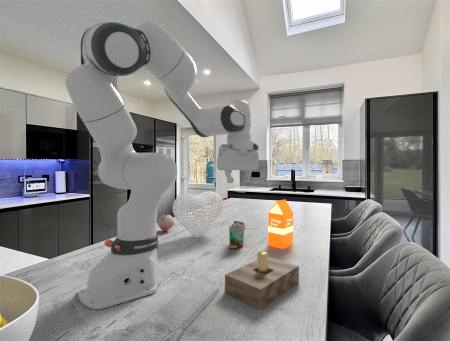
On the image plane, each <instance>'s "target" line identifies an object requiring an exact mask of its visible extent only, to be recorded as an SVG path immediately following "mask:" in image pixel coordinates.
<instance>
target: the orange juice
mask: <svg viewBox="0 0 450 341" xmlns="http://www.w3.org/2000/svg"><path fill="white" fill-rule="evenodd" d="M267 224H268V228H267V231H268V234H267V235H268V238H267V239H268V242H267V244H268V246H270V247H273V248H279V249H281V250H284V249H285V250H286V248H289V247H291V246H293V245H294V212H293V210H292V208H291V207H290V205H289V203H288V202H287V199H281V200H276V201H275V202H274V203H273V205H272V206H271V209H269V211H268V223H267Z"/></svg>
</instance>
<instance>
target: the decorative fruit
mask: <svg viewBox="0 0 450 341" xmlns="http://www.w3.org/2000/svg"><path fill="white" fill-rule="evenodd" d="M174 224H175V219H174V217H173V216H172V215H171V214H169V213H166V212H165V214H164V215H161V216H160V217H159V218H158V219H157V226H158V228H159V229H160V230H161V231H163V232H167V231H169V230H170V229H172V228H173V227H174Z"/></svg>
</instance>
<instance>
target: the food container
mask: <svg viewBox="0 0 450 341" xmlns="http://www.w3.org/2000/svg"><path fill="white" fill-rule="evenodd" d="M228 227H229V228H228V232H229V233H228V234H229V250H230V251H231V250H232V251H233V250H240V249H243V247H244V237H245V236H244V234H245V231H246V224H245V222H243V221H240V220H233V223H232V224H231V226H228Z"/></svg>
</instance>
